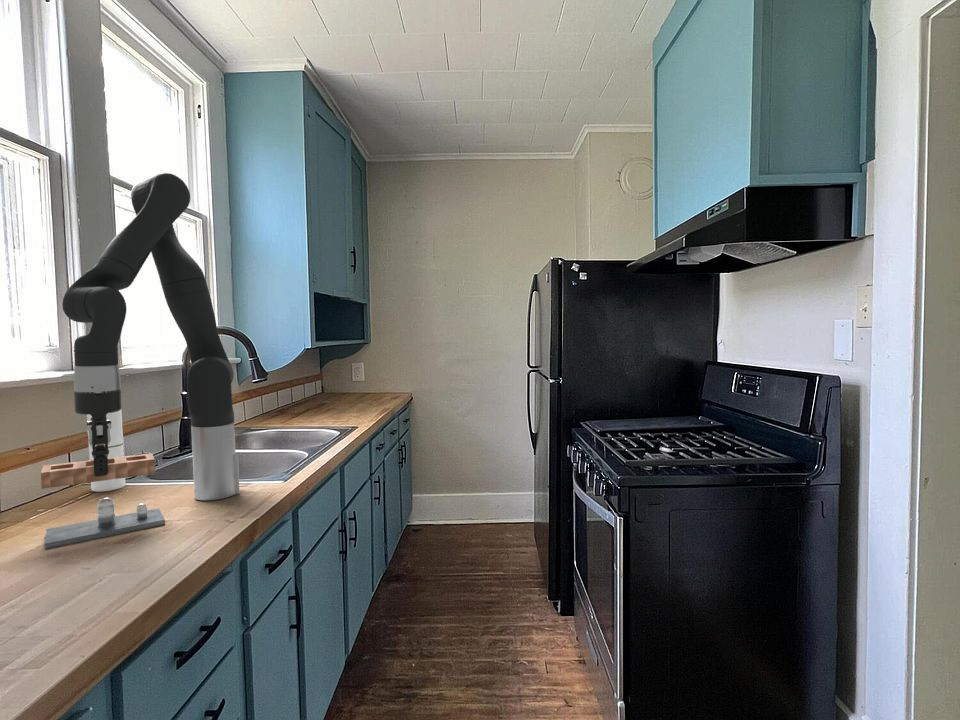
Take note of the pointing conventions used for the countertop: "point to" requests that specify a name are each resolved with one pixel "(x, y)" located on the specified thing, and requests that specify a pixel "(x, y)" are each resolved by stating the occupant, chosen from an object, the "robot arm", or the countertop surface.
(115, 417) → the cylindrical container
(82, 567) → the countertop surface
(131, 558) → the countertop surface
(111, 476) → the wooden block with holes
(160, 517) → the post plate
